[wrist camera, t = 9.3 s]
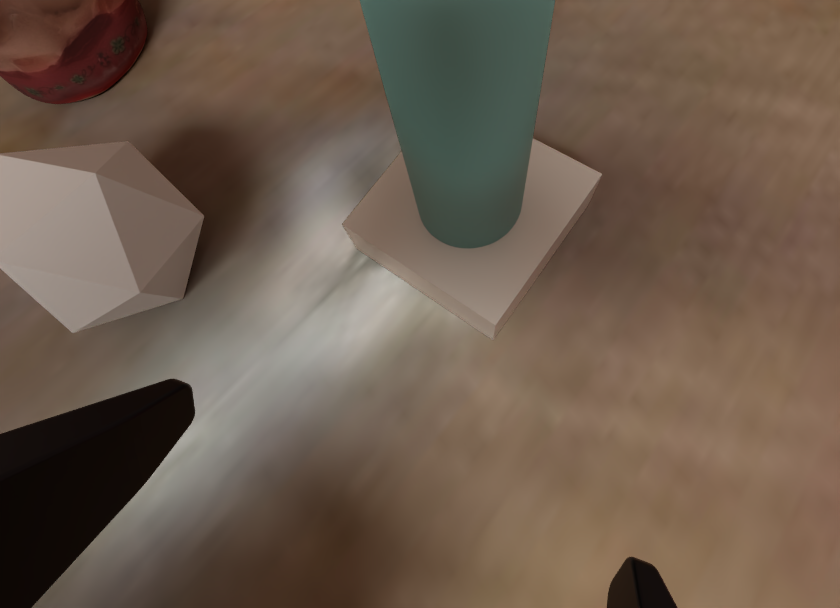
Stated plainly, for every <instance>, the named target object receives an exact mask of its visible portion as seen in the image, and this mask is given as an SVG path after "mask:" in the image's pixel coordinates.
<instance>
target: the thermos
mask: <svg viewBox="0 0 840 608" xmlns="http://www.w3.org/2000/svg"><path fill="white" fill-rule="evenodd" d="M360 3H361V7H362V10H363V14H364V17H365V21H366V25H367V28H368V32H369V35H370V39H371V43H372V46H373V50H374V53H375V57H376V61H377V64H378V68H379V71H380V75H381V79H382V82H383V86H384V89H385V93H386V97H387V100H388V104H389V107H390V111H391V115H392V118H393V122H394V125H395V129H396V132H397V136H398V140H399V143H400V147H401V150H402V154H403V158H404V161H405V165H406V168H407V172H408V176H409V179H410V183H411V186H412V190H413V194H414V197H415V201H416V204H417V208H418V212H419V215H420V218H421V221H422V223H423V225H424V226H425V228H426V229H427V230H428V232H429V233H430V234H431V235H432V236H434V237H435V238H436V239H438V240H439V241H441V242H443V243H445V244H447V245H450V246H453V247H457V248H468V249H469V248H478V247H483V246H486V245H489V244H492V243H494V242H496V241H497V240H499V239H501V238H502V237H503V236H505V235H506V234H507V233H508V232H509V231H510V230H511V229H512V227H513V226H514V225H515V223H516V221H517V220H518V218H519V215H520V212H521V208H522V202H523V196H524V190H525V183H526V177H527V171H528V165H529V159H530V153H531V146H532V140H533V134H534V128H535V122H536V115H537V109H538V103H539V97H540V91H541V84H542V78H543V72H544V66H545V60H546V54H547V47H548V41H549V35H550V29H551V23H552V16H553V10H554V4H555V0H360Z"/></svg>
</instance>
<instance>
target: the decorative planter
mask: <svg viewBox="0 0 840 608" xmlns="http://www.w3.org/2000/svg"><path fill="white" fill-rule="evenodd" d="M146 37H147V24H146V20H145V16H144V12H143V9H142V7H141V5H140V3H139V1H138V0H0V76H1V77H2V78H3V79H5V80H6V81H7V82H8V83H9V84H10V85H12V86H13V87H14V88H16V89H17V90H18V91H20V92H21V93H23V94H25V95H26V96H28V97H31V98H33V99H35V100H38V101H41V102H45V103H52V104H65V103H71V102H77V101H81V100H85V99H89V98H92V97H94V96H96V95H98V94H100V93H102V92H104V91H105V90H107V89H108V88H110V87H111V86H112V85H113V84H114V83H116V82H117V81H118V80H119V79H120V78H121V77H122V76H123V75H124V74H125V73H126V72H127V71H128V70H129V69H130V68H131V66H132V65H133V64H134V62H135V61H136V59H137V57H138V56H139V54H140V52H141V51H142V49H143V47H144V44H145V40H146Z"/></svg>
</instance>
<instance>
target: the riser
mask: <svg viewBox="0 0 840 608" xmlns="http://www.w3.org/2000/svg"><path fill="white" fill-rule="evenodd" d="M601 176H602V174H601V173H599V172H597V171H596V170H594V169H592V168H590V167H588V166H586V165H584V164H582V163H580V162H578V161H576V160H574V159H572V158H570V157H568V156H566V155H565V154H563V153H561V152H559V151H557V150H555V149H553V148H551V147H549V146H547V145H545V144H543V143H541V142H539V141H537V140H535V139H534V138H533V140H532V146H531V153H530V159H529V165H528V171H527V177H526V183H525V190H524V196H523V202H522V208H521V212H520V215H519V218H518V220H517V221H516V223H515V225H514V226H513V227H512V229H511V230H510V231H509V232H508V233H507V234H506V235H505V236H503V237H502V238H501V239H499V240H497V241H496V242H494V243H492V244H489V245H486V246H483V247H478V248H469V249H468V248H457V247H453V246H450V245H447V244H445V243H443V242H441V241H439V240H438V239H436V238H435V237H434V236H432V235H431V234H430V233H429V232H428V230H427V229H426V228H425V226H424V225H423V223H422V221H421V218H420V215H419V212H418V208H417V204H416V201H415V197H414V194H413V190H412V186H411V183H410V179H409V176H408V172H407V168H406V165H405V161H404V158H403V154H402V151H401V152H400V154H399V155H398V156H397V157H396V158H395V160H394V161H393V162H392V163H391V165H390V166H389V167H388V168H387V170H386V171H385V172H384V173H383V174H382V176H381V177H380V178H379V179H378V181H377V182H376V183H375V184H374V185H373V187H372V188H371V189H370V190H369V192H368V193H367V194H366V195H365V197H364V198H363V199H362V200H361V201H360V203H359V204H358V205H357V206H356V208H355V209H354V210H353V211H352V212H351V214H350V215H349V216H348V217H347V219H346V220H345V221H344V222H343V223H342V225H343V227H344V229H345V230H346V232H347V234H348V235H349V237H350V238H351V240H352V242H353V243H354V245H355V247H356V248H357V249H358V250H359V251H361V252H362V253H364V254H365V255H367V256H368V257H370V258H371V259H373V260H374V261H376V262H377V263H379V264H380V265H382V266H383V267H385V268H386V269H388V270H389V271H391V272H392V273H394V274H395V275H397V276H398V277H400V278H401V279H403V280H404V281H406V282H407V283H409V284H410V285H412V286H413V287H415V288H416V289H418V290H419V291H421V292H422V293H424V294H425V295H427V296H428V297H430V298H431V299H432V300H434V301H435V302H437V303H438V304H440V305H441V306H443V307H444V308H446V309H447V310H449V311H450V312H452V313H453V314H455V315H456V316H458V317H459V318H461V319H462V320H464V321H465V322H467V323H468V324H470V325H471V326H473V327H474V328H476V329H477V330H479V331H480V332H482V333H483V334H485V335H486V336H488V337H489V338H491V339H492V340H494V338H495V337H496V335H497V334H498V333H499V331H500V330H501V328H502V327H503V325H504V324H505V323H506V321H507V320H508V318H509V317H510V316H511V314H512V313H513V311H514V310H515V308H516V307H517V306H518V304H519V303H520V301H521V300H522V298H523V297H524V296H525V294H526V293H527V291H528V290H529V288H530V287H531V286H532V284H533V283H534V281H535V280H536V279H537V277H538V276H539V274H540V273H541V271H542V270H543V269H544V267H545V266H546V264H547V263H548V261H549V260H550V259H551V257H552V256H553V254H554V253H555V252H556V250H557V249H558V247H559V246H560V244H561V243H562V242H563V240H564V239H565V237H566V236H567V234H568V233H569V232H570V230H571V229H572V227H573V226H574V225H575V223H576V222H577V220H578V219H579V217H580V216H581V215H582V213H583V212H584V210H585V209H586V207H587V206H588V204H589V202H590V200H591V198H592V196H593V193H594V191H595V189H596V187H597V185H598V183H599V181H600V178H601Z"/></svg>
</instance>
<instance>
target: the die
mask: <svg viewBox="0 0 840 608" xmlns="http://www.w3.org/2000/svg"><path fill="white" fill-rule="evenodd" d="M203 219H204V215H203V214H202V213H201V212H200V211H199V210H198V209H197V208H196V207H195V206H194V205H193V204H192V203H191V202H190V201H189V200H188V199H187V198H186V197H185V196H184V195H182V194H181V193H180V192H179V191H178V190H177V189H176V188H175V187H174V186H173V185H172V184H171V183H170V182H169V181H168V180H167V179H166V178H165V177H164V176H163V175H162V174H161V173H160V172H159V171H158V170H157V169H156V168H155V167H154V166H153V165H152V164H151V163H150V162H149V161H148V160H147V159H146V158H145V157H144V156H143V155H142V154H141V153H140V152H139V151H138V150H137V149H136V148H135V147H134V146H133V145H132V144H131V143H130V142H129V141H124V142H113V143H103V144H93V145H83V146H72V147H62V148H52V149H42V150H32V151H21V152H11V153H1V154H0V269H1V270H3V271H4V272H5V273H6V274H7V275H8V276H9V277H10V278H11V279H13V280H14V281H15V282H16V283H17V284H18V285H19V286H20V287H22V288H23V289H24V290H25V291H26V292H27V293H28V294H29V295H31V296H32V297H33V298H34V299H35V300H36V301H37V302H38V303H40V304H41V305H42V306H43V307H44V308H45V309H46V310H47V311H48V312H50V313H51V314H52V315H53V316H54V317H55V318H56V319H57V320H59V321H60V322H61V323H62V324H63V325H64V326H65V327H66V328H68V329H69V330H70V331H71V332H72V333H75V332H78V331H81V330H85V329H88V328H91V327H94V326H98V325H101V324H104V323H107V322H110V321H114V320H117V319H120V318H123V317H126V316H130V315H133V314H136V313H139V312H142V311H146V310H149V309H152V308H155V307H158V306H162V305H165V304H168V303H171V302H175V301H178V300H181V299H183V297H184V293H185V289H186V286H187V282H188V278H189V274H190V270H191V266H192V262H193V258H194V254H195V250H196V246H197V242H198V239H199V235H200V231H201V227H202V223H203Z"/></svg>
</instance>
